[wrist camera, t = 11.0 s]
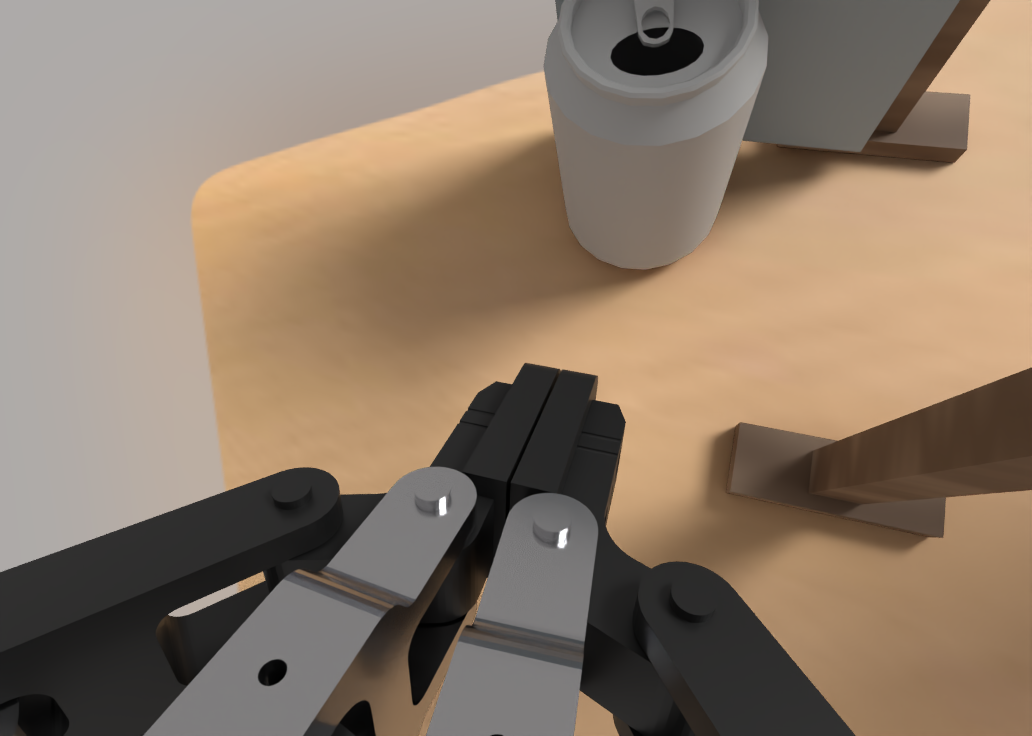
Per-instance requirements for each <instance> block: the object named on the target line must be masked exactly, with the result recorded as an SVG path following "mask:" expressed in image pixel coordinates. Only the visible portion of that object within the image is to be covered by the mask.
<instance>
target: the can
mask: <svg viewBox="0 0 1032 736" xmlns="http://www.w3.org/2000/svg"><path fill="white" fill-rule="evenodd" d="M758 8H759V0H564V2H563V4H562V5H561V10H560V17H559V20H558V22H557V24H556V26H555V27H554V29H553V31H552V33H551V34H550V36H549V38H548V42H547V49H546V54H545V60H544V72H545V79H546V85H547V91H548V98H549V104H550V111H551V117H552V124H553V130H554V137H555V143H556V150H557V156H558V162H559V169H560V175H561V182H562V188H563V195H564V201H565V208H566V212H567V217H568V222H569V227H570V229H571V230H572V232H573V234H574V235H575V237H576V238H577V240H578V242H579V243H580V245H581V246H582V247H583V248H585V249H586V250H587V251H588V252H590V253H591V254H592V255H594V256H595V257H596V258H597V259H599V260H601V261H604V262H606V263H609V264H612V265H614V266H617V267H620V268H629V269H644V270H646V269H651V268H655V267H660V266H664V265H669V264H671V263H673V262H675V261H677V260H679V259H681V258H682V257H684V256H686V255H688V254H690V253H692V252H693V250H694V249H695V248H696V247H697V246H698V245H699V244H700V243H701V242H702V241H703V240H704V239H705V238H706V237H707V236H708V234H709V232H710V230H711V228H712V226H713V224H714V221H715V219H716V217H717V215H718V212H719V209H720V206H721V203H722V200H723V197H724V194H725V191H726V188H727V185H728V182H729V179H730V176H731V173H732V169H733V166H734V163H735V160H736V157H737V154H738V151H739V148H740V145H741V142H742V139H743V136H744V133H745V130H746V127H747V124H748V121H749V118H750V115H751V112H752V109H753V106H754V103H755V100H756V97H757V94H758V91H759V88H760V85H761V82H762V79H763V76H764V73H765V70H766V67H767V52H768V34H767V31H766V29H765V26H764V23H763V21H762V18H761V15H760V12H759V10H758Z"/></svg>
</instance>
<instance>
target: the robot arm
mask: <svg viewBox="0 0 1032 736" xmlns="http://www.w3.org/2000/svg"><path fill="white" fill-rule="evenodd" d="M597 384H598V376H596V375H590V374H585V373H579V372H574V371H568V370H562V371H561V370H560V369H557V368H551V367H546V366H540V365H535V364H529V363H525V364H524V365H523V367H522V368H521V370H520V372H519V374H518V375H517V377H516V379H515V381H514V382H513V384H507V383H502V382H497V381H496V382H495V383H493V384H491V385H490V386H488V387H487V388H485V389H483V390H482V391H480V392H479V393H478V394H477V395H476V397H475V398H474V400H473V401H472V403H471V404H470V406H469V407H468V411H466V412H465V414H464V415H463V417H462V418H461V420H460V423H459V424H457V426H456V427H455V429H454V430H453V432H452V434H451V435H450V437H449V438H448V440H447V441H446V443H445V444H444V446H443V447H442V449H441V450H440V452H439V453H438V455H437V457H436V458H435V460H434V461H433V463H432V464H431V466H430V467H427V468H422V469H418V470H415V471H413V472H410V473H408V474H406V475H405V476H403V477H402V478H401V479H399V480H398V481H397V482H396V483H395V484H394V486H393V487H392V488H391V489H390V490H389V492H388V493H383V494H350V495H340V490H339V485H338V483H337V480H336V479H335V478H334V477H333V476H332V475H331V474H329V473H328V472H326V471H324V470H320V469H316V468H305V467H303V468H294V469H289V470H285V471H282V472H279V473H276V474H273V475H270V476H268V477H265V478H262V479H259V480H256V481H254V482H251V483H248V484H245V485H243V486H240V487H237V488H234V489H231V490H229V491H226V492H223V493H220V494H217V495H215V496H212V497H209V498H206V499H204V500H201V501H198V502H195V503H192V504H190V505H187V506H184V507H181V508H179V509H176V510H173V511H170V512H167V513H164V514H162V515H159V516H156V517H153V518H151V519H148V520H145V521H142V522H139V523H137V524H134V525H131V526H128V527H126V528H123V529H120V530H117V531H114V532H111V533H109V534H106V535H104V536H100V537H98V538H95V539H92V540H89V541H86V542H84V543H81V544H78V545H75V546H72V547H70V548H67V549H64V550H61V551H59V552H56V553H53V554H50V555H48V556H45V557H42V558H39V559H36V560H34V561H31V562H28V563H25V564H22V565H19V566H17V567H14V568H11V569H8V570H6V571H3V572H0V736H419V732H420V729H421V726H422V723H423V720H424V718H425V716H426V713H427V711H428V709H429V707H430V705H431V703H432V701H433V699H434V697H435V695H436V693H437V691H438V690H439V688H440V686H441V684H442V682H443V680H444V678H445V680H444V683H443V686H442V689H441V692H440V695H439V698H438V701H437V704H436V707H435V710H434V713H433V716H432V719H431V722H430V725H429V728H428V731H427V734H426V736H574V729H575V721H576V713H577V705H578V697H579V690H580V691H582V692H583V693H584V694H586V695H587V696H589V697H590V698H591V699H593V700H594V701H596V702H597V703H598V704H600V705H601V706H603V707H604V708H605V709H607V710H608V711H609V712H611V713H612V714H613V719H614V723H615V726H616V729H617V731H618V734H619V736H855V734H854V733H853V732H852V731H851V730H850V728H849V727H848V726H847V725H846V724H845V722H844V721H843V720H842V719H841V717H840V716H839V715H838V714H837V713H836V711H835V710H834V709H833V708H832V707H831V705H830V704H829V703H828V702H827V701H826V699H825V698H824V697H823V696H822V695H821V693H820V692H819V691H818V690H817V689H816V687H815V686H814V685H813V684H812V683H811V681H810V680H809V679H808V678H807V677H806V675H805V674H804V673H803V672H802V671H801V669H800V668H799V667H798V666H797V665H796V663H795V662H794V661H793V660H792V658H791V657H790V656H789V655H788V654H787V652H786V651H785V650H784V649H783V648H782V646H781V645H780V644H779V643H778V642H777V640H776V639H775V638H774V637H773V636H772V634H771V633H770V632H769V631H768V630H767V628H766V627H765V626H764V625H763V624H762V622H761V621H760V620H759V619H758V618H757V616H756V615H755V614H754V613H753V612H752V610H751V609H750V608H749V607H748V606H747V604H746V603H745V602H744V601H743V599H742V598H741V597H740V596H739V595H738V593H737V592H736V591H735V590H734V589H733V588H732V587H731V586H730V584H729V583H728V582H726V581H725V580H724V579H723V578H722V577H720V576H719V575H717V574H716V573H714V572H713V571H711V570H709V569H707V568H704V567H702V566H699V565H696V564H692V563H687V562H668V563H663V564H660V565H658V566H656V567H654V568H652V569H651V568H649V567H647V566H645V565H644V564H642V563H640V562H638V561H636V560H635V559H633V558H631V557H630V556H628V555H627V554H626V553H624V552H623V551H622V550H621V549H620V548H619V547H618V546H617V545H616V544H615V543H614V541H613V540H612V539H611V537H610V535H609V533H608V531H607V528H606V523H607V519H608V514H609V510H610V505H611V500H612V496H613V492H614V487H615V483H616V477H617V471H618V465H619V459H620V453H621V447H622V441H623V435H624V429H625V423H626V422H625V419H624V417H623V414H622V412H621V410H620V407H619V405H617V404H611V403H606V402H601V401H596V392H597ZM262 571H263V573H264V576H265V580H266V581H264V582H262V583H259V584H257V585H255V586H253V587H250V588H248V589H246V590H244V591H242V592H239V593H237V594H235V595H233V596H230V597H229V598H226V599H224V600H221V601H219V602H217V603H215V604H213V605H210V606H208V607H206V608H204V609H202V610H199V611H197V612H195V613H192V614H190V615H186V616H182V617H173V616H169V615H168V614H169V613H171V612H172V611H174V610H176V609H178V608H180V607H182V606H184V605H187V604H189V603H191V602H194V601H196V600H198V599H201V598H203V597H205V596H207V595H209V594H212V593H214V592H216V591H219V590H221V589H223V588H226V587H228V586H230V585H233V584H235V583H237V582H239V581H242V580H244V579H246V578H248V577H251V576H253V575H255V574H258V573H260V572H262ZM486 578H488V580H487V583H486V586H485V589H484V592H483V595H482V599H481V602H480V605H479V608H478V611H477V614H476V610H477V600H478V597H479V595H480V593H481V590H482V588H483V585H484V583H485V581H486ZM475 615H476V617H475ZM474 618H475V620H474ZM473 620H474V622H473ZM472 622H473V624H472ZM471 624H472V626H471ZM445 676H446V677H445Z"/></svg>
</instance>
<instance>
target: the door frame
mask: <svg viewBox="0 0 1032 736" xmlns="http://www.w3.org/2000/svg"><path fill="white" fill-rule="evenodd" d="M989 1H990V0H960V1H959V2H958V4H957V5H956V7H955V8H954V10H953V12H952V13H951V15H950V16H949V18H948V19H947V21H946V22H945V24H944V25H943V27H942V28H941V30H940V31H939V33H938V34H937V36H936V37H935V39H934V40H933V42H932V44H931V45H930V47H929V48H928V50H927V51H926V53H925V54H924V56H923V57H922V59H921V60H920V62H919V63H918V65H917V66H916V68H915V69H914V71H913V72H912V74H911V76H910V77H909V79H908V80H907V82H906V83H905V85H904V86H903V88H902V89H901V91H900V92H899V94H898V95H897V97H896V98H895V100H894V101H893V103H892V104H891V106H890V108H889V109H888V111H887V112H886V114H885V115H884V117H883V118H882V120H881V121H880V123H879V124H878V126H877V127H876V129H875V130H874V132H873V133H872V135H871V136H870V138H869V140H868V141H867V143H866V144H865V146H864V147H863V149H862V150H861V152H854V151H844V150H834V149H824V148H814V147H804V146H794V145H783V144H777V147H788V148H799V149H810V150H821V151H832V152H843V153H854V154H865V155H876V156H887V157H898V158H909V159H920V160H931V161H942V162H953V163H955V162H956V161H957V160H958V159H959V157H960V156H961V155H962V154H963V153H964V152H965V151H966V150H967V140H968V124H969V108H970V95H969V94H954V93H939V92H925V91H926V90H927V88H928V87H929V85H930V84H931V83H932V81H933V80H934V78H935V77H936V76H937V74H938V73H939V71H940V70H941V69H942V67H943V66H944V64H945V63H946V62H947V60H948V59H949V57H950V56H951V55H952V53H953V52H954V50H955V49H956V48H957V46H958V45H959V43H960V42H961V41H962V39H963V38H964V36H965V35H966V34H967V32H968V31H969V29H970V28H971V27H972V25H973V24H974V22H975V21H976V20H977V18H978V17H979V15H980V14H981V13H982V11H983V10H984V8H985V7H986V6H987V4H988V3H989ZM1024 490H1032V368H1029V369H1027V370H1024V371H1021V372H1019V373H1016V374H1013V375H1011V376H1008V377H1005V378H1003V379H1000V380H998V381H995V382H992V383H990V384H987V385H984V386H982V387H979V388H976V389H974V390H971V391H969V392H966V393H963V394H961V395H958V396H955V397H953V398H950V399H947V400H945V401H942V402H940V403H937V404H934V405H932V406H929V407H926V408H924V409H921V410H918V411H916V412H913V413H911V414H908V415H905V416H903V417H900V418H897V419H895V420H892V421H889V422H887V423H884V424H882V425H879V426H876V427H874V428H871V429H868V430H866V431H863V432H861V433H858V434H855V435H853V436H850V437H847V438H845V439H842V440H839V441H835V440H830V439H825V438H820V437H814V436H809V435H804V434H799V433H794V432H788V431H783V430H778V429H773V428H768V427H762V426H757V425H752V424H747V423H742V422H740V423H739V424H738V425H736V428H735V435H734V441H733V448H732V455H731V462H730V469H729V475H728V482H727V489H726V493H730V494H735V495H740V496H744V497H749V498H753V499H758V500H762V501H767V502H771V503H776V504H781V505H785V506H790V507H794V508H799V509H803V510H808V511H813V512H817V513H822V514H826V515H831V516H835V517H840V518H844V519H849V520H854V521H858V522H863V523H867V524H872V525H876V526H881V527H886V528H890V529H895V530H899V531H904V532H908V533H913V534H918V535H922V536H927V537H938V538H943V534H944V517H945V501H946V497H955V496H966V495H978V494H989V493H1001V492H1013V491H1024Z"/></svg>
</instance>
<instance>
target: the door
mask: <svg viewBox="0 0 1032 736" xmlns="http://www.w3.org/2000/svg"><path fill="white" fill-rule="evenodd" d="M959 1H960V0H759V8H758V10H759V12H760V15H761V18H762V21H763V23H764V26H765V29H766V31H767V34H768V52H767V67H766V70H765V73H764V76H763V79H762V82H761V85H760V88H759V91H758V94H757V97H756V100H755V103H754V106H753V109H752V112H751V115H750V118H749V121H748V124H747V127H746V130H745V133H744V136H743V139H742V140H743V141H753V142H763V143H773V144H783V145H794V146H804V147H814V148H824V149H834V150H844V151H854V152H861V150H862V149H863V147H864V146H865V144H866V143H867V141H868V140H869V138H870V136H871V135H872V133H873V132H874V130H875V129H876V127H877V126H878V124H879V123H880V121H881V120H882V118H883V117H884V115H885V114H886V112H887V111H888V109H889V108H890V106H891V104H892V103H893V101H894V100H895V98H896V97H897V95H898V94H899V92H900V91H901V89H902V88H903V86H904V85H905V83H906V82H907V80H908V79H909V77H910V76H911V74H912V72H913V71H914V69H915V68H916V66H917V65H918V63H919V62H920V60H921V59H922V57H923V56H924V54H925V53H926V51H927V50H928V48H929V47H930V45H931V44H932V42H933V40H934V39H935V37H936V36H937V34H938V33H939V31H940V30H941V28H942V27H943V25H944V24H945V22H946V21H947V19H948V18H949V16H950V15H951V13H952V12H953V10H954V8H955V7H956V5H957V4H958V2H959ZM555 2H556V11H557V19H558V20H559V17H560V10H561V5H562V4H563V2H564V0H555Z"/></svg>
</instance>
